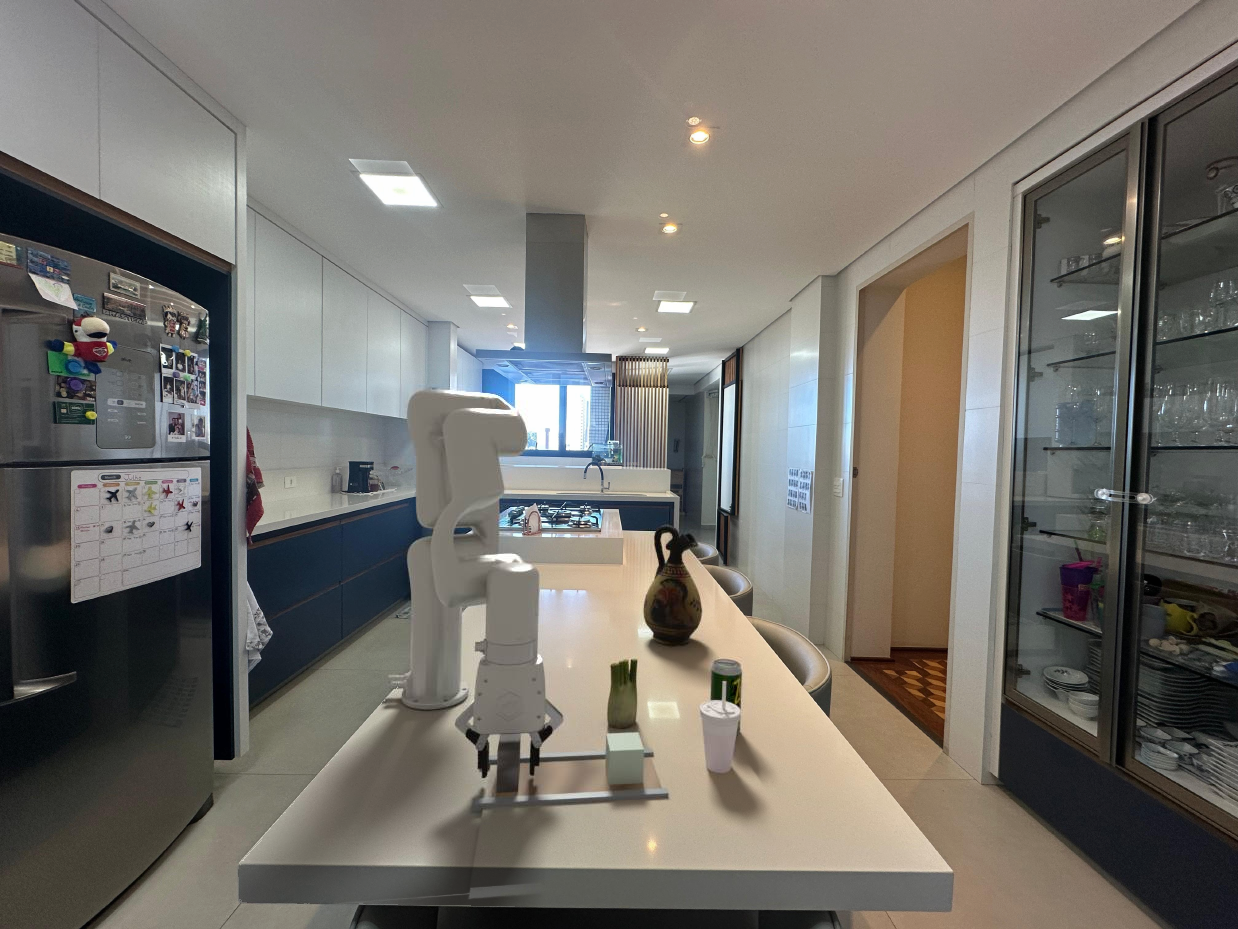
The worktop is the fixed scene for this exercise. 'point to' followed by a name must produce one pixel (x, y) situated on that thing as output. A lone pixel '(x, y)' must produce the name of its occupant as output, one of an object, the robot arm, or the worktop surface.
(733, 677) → the beer can
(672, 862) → the worktop surface
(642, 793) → the lane rails
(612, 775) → the block
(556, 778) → the strip
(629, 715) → the fennel bulb
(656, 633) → the ceramic jug
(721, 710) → the smoothie
